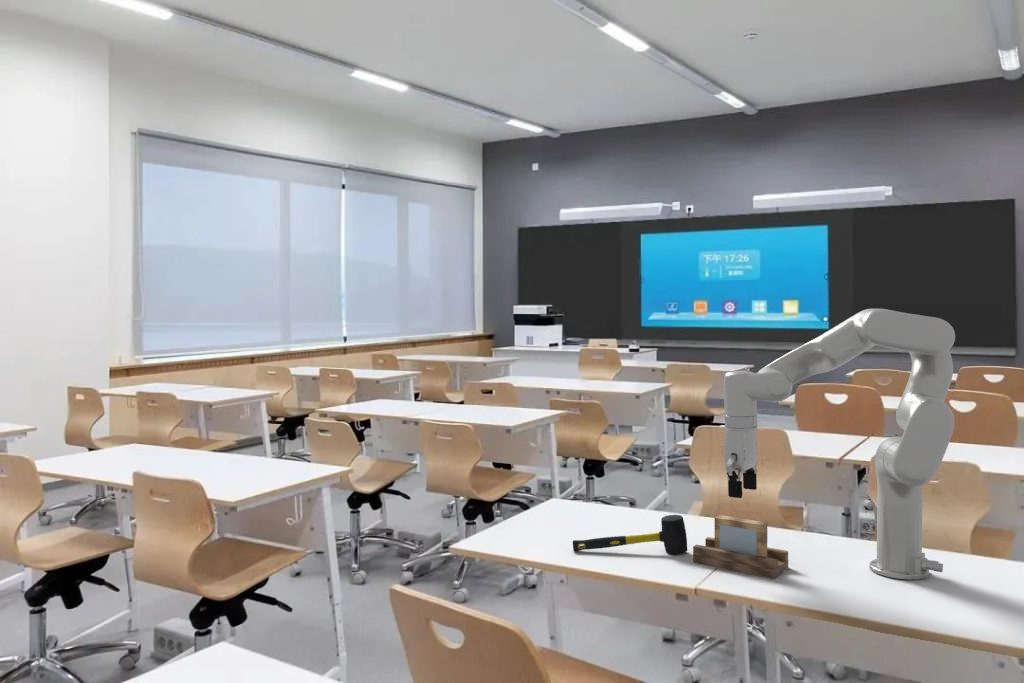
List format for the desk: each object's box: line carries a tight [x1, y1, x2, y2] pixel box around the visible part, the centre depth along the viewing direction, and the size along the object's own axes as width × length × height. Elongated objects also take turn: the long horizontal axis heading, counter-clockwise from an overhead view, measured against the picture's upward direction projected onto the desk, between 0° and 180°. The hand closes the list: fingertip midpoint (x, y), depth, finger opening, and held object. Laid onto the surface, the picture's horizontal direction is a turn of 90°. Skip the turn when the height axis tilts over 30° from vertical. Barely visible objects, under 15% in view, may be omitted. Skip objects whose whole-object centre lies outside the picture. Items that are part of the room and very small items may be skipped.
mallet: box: [572, 514, 688, 556], centre depth 201 cm, size 29×6×10 cm, turn 87°
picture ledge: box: [692, 536, 789, 580], centre depth 190 cm, size 20×10×4 cm, turn 54°
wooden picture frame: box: [714, 514, 768, 557], centre depth 190 cm, size 12×3×9 cm, turn 53°
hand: (742, 493), depth 190 cm, fingers open, 9 cm apart
